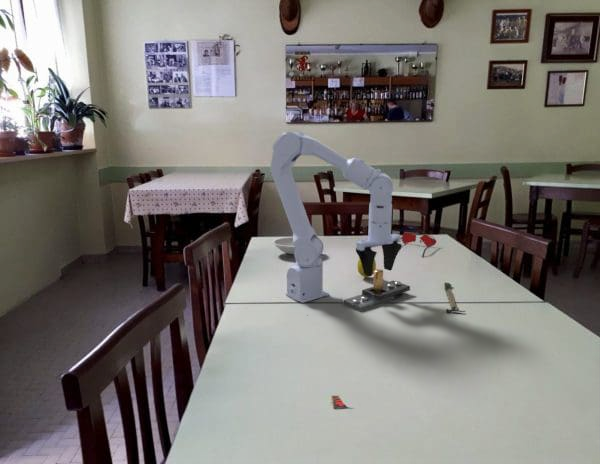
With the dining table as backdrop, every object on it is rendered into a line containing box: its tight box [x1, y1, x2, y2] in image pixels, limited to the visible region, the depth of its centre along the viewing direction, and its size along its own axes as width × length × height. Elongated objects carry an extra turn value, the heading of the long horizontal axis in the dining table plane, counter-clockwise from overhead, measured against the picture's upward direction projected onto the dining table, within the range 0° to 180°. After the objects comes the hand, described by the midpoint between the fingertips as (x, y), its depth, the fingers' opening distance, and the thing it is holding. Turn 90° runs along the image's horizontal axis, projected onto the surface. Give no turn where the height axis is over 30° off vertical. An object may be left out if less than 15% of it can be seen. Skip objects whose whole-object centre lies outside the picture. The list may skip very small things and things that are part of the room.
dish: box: [271, 236, 295, 255], centre depth 162 cm, size 18×14×5 cm
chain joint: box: [343, 280, 411, 312], centre depth 120 cm, size 19×6×3 cm, turn 127°
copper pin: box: [372, 268, 384, 294], centre depth 119 cm, size 2×2×8 cm
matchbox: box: [330, 394, 349, 409], centre depth 76 cm, size 5×5×1 cm
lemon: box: [356, 258, 377, 279], centre depth 136 cm, size 6×6×8 cm
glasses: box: [401, 232, 437, 258], centre depth 168 cm, size 14×16×5 cm
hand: (378, 272), depth 119 cm, fingers open, 7 cm apart
